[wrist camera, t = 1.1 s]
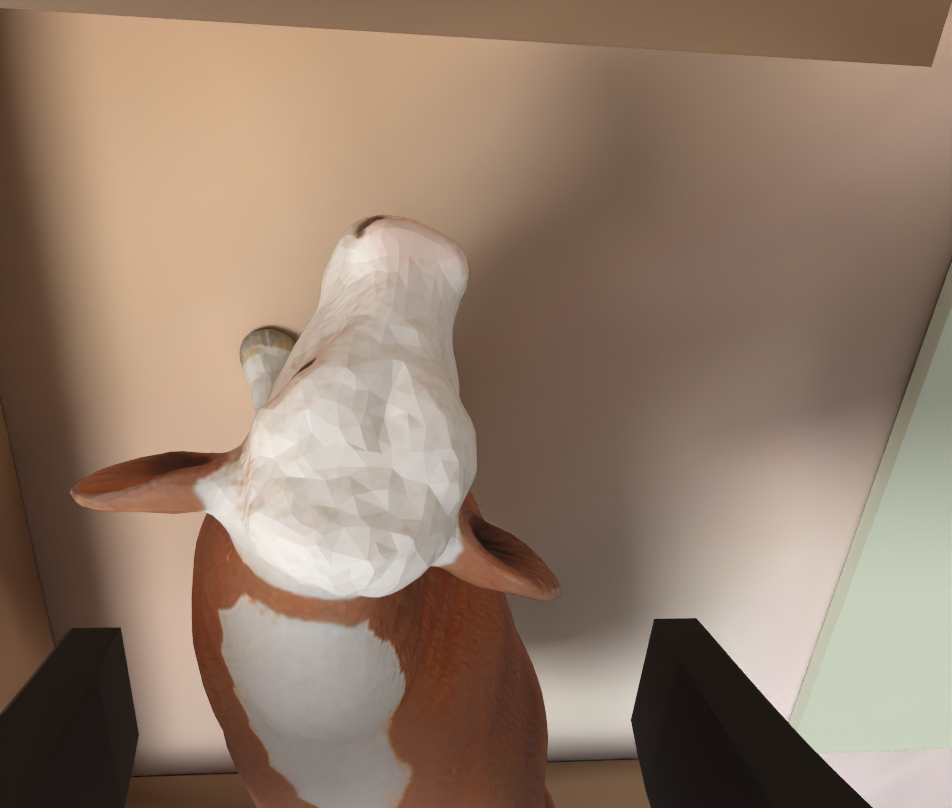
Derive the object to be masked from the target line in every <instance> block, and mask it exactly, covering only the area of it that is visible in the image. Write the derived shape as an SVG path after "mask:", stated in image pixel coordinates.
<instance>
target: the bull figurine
mask: <svg viewBox="0 0 952 808" xmlns="http://www.w3.org/2000/svg"><path fill="white" fill-rule="evenodd" d="M468 277H469V269H468V261H467V256H466V254H465V252H464V251H463V249H462V248H461V246H460V245H459V244H457V243H456V242H455V241H453V240H452V239H450V238H449V237H447V236H445V235H444V234H442V233H440V232H438V231H436V230H434V229H432V228H430V227H428V226H426V225H424V224H422V223H419V222H417V221H415V220H411V219H407V218H404V217H397V216H390V215H377V216H372V217H366V218H364V219H361V220H359V221H357V222H356V223H354V224H353V225H351V226H350V227H349V228H348V229H347V230H346V231H345V232H344V234H343V235H342V236H341V238H340V239H339V241H338V242H337V244H336V246H335V248H334V250H333V253H332V255H331V257H330V259H329V261H328V264H327V266H326V269H325V271H324V274H323V277H322V285H321V294H320V303H319V305H318V308H317V310H316V312H315V314H314V315H313V317H312V318H311V320H310V322H309V323H308V325H307V326H306V328H305V329H304V331H303V333H302V334H301V336H300V337H299V339H298V341H297V342H296V343H295V342H294V341H293V340H292V339H291V338H290V337H289V336H288V335H286V334H284V333H282V332H279V331H276V330H272V329H263V330H258V331H254V332H252V333H250V334H249V335H248V336H247V337H245V338H244V340H243V342H242V345H241V348H240V361H241V364H242V367H243V371H244V373H245V376H246V379H247V381H248V383H249V385H250V387H251V394H252V400H253V404H254V407H255V409H256V415H255V417H254V419H253V423H252V426H251V430H250V432H249V433H248V435H247V437H246V439H245V440H244V441H243V443H242V444H241V446H239V447H237V448H236V449H234V450H232V451H229V452H226V453H196V452H185V451H180V452H168V453H163V454H158V455H152V456H147V457H141V458H138V459H134V460H130V461H127V462H123V463H120V464H116V465H113V466H110V467H107V468H104V469H102V470H99V471H97V472H95V473H93V474H91V475H89V476H88V477H86V478H84V479H82V480H80V481H79V482H78V483H76V484H75V485H74V486H73V487H72V488H71V490H70V494H71V496H72V497H73V498H74V500H75V501H76V502H77V503H78V504H79V505H81V506H83V507H87V508H91V509H95V510H99V511H106V512H152V513H170V514H177V513H188V512H198V511H199V512H205V513H207V514H206V517H205V519H204V521H203V524H202V526H201V529H200V532H199V536H198V539H197V542H196V549H195V556H194V568H193V585H192V634H193V645H194V649H195V654H196V658H197V662H198V666H199V670H200V674H201V678H202V682H203V686H204V688H205V691H206V694H207V696H208V699H209V702H210V704H211V707H212V710H213V712H214V714H215V716H216V718H217V720H218V722H219V724H220V726H221V728H222V730H223V732H224V736H225V740H226V744H227V748H228V750H229V752H230V755H231V757H232V760H233V762H234V764H235V767H236V769H237V772H238V774H239V775H240V777H241V779H242V781H243V783H244V785H245V787H246V788H247V790H248V792H249V794H250V796H251V798H252V800H253V801H254V803H255V805H256V807H257V808H555V804H554V801H553V799H552V797H551V795H550V793H549V791H548V789H547V787H546V785H545V775H546V765H547V748H548V732H547V720H546V712H545V706H544V701H543V696H542V691H541V688H540V685H539V682H538V678H537V675H536V673H535V670H534V667H533V664H532V662H531V660H530V657H529V655H528V653H527V651H526V649H525V647H524V645H523V643H522V641H521V639H520V637H519V635H518V633H517V631H516V628H515V624H514V621H513V617H512V613H511V610H510V607H509V605H508V602H507V600H506V597H505V594H504V592H505V593H511V594H516V595H521V596H524V597H528V598H531V599H534V600H538V601H543V602H547V601H552V600H554V599H556V598H558V597H560V593H561V589H560V585H559V583H558V581H557V579H556V577H555V575H554V574H553V573H552V572H551V570H550V569H549V568H548V567H547V566H546V564H545V563H544V562H543V561H542V560H541V559H540V558H539V557H538V556H537V555H536V554H535V553H534V552H533V551H532V550H531V549H530V548H529V547H528V546H527V545H526V544H524V543H523V542H521V541H520V540H519V539H517V538H516V537H515V536H513V535H512V534H510V533H508V532H506V531H504V530H502V529H500V528H497V527H495V526H493V525H491V524H489V523H487V522H486V521H485V520H484V519H483V518H482V516H481V513H480V511H479V508H478V505H477V503H476V501H475V499H474V497H473V495H472V493H471V492H470V490H469V489H470V487H471V485H472V483H473V481H474V479H475V476H476V473H477V446H476V432H475V428H474V425H473V423H472V420H471V418H470V417H469V415H468V413H467V412H466V410H465V408H464V407H463V404H462V402H461V399H460V397H459V394H460V389H459V379H458V372H457V367H456V362H455V357H454V351H453V336H452V333H453V326H454V321H455V318H456V314H457V311H458V307H459V304H460V301H461V298H462V296H463V294H464V293H465V291H466V288H467V282H468Z"/></svg>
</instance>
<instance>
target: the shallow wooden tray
mask: <svg viewBox="0 0 952 808" xmlns="http://www.w3.org/2000/svg"><path fill="white" fill-rule="evenodd" d="M951 1H952V0H0V8H9V9H25V10H41V11H57V12H72V13H88V14H104V15H120V16H136V17H151V18H167V19H183V20H199V21H215V22H230V23H246V24H262V25H278V26H294V27H310V28H325V29H341V30H357V31H373V32H389V33H404V34H420V35H436V36H452V37H468V38H484V39H499V40H515V41H531V42H547V43H563V44H578V45H594V46H610V47H626V48H642V49H657V50H673V51H689V52H705V53H721V54H737V55H752V56H768V57H784V58H800V59H816V60H831V61H847V62H863V63H879V64H895V65H911V66H926V67H931V66H932V63H933V60H934V57H935V53H936V50H937V47H938V44H939V40H940V37H941V34H942V31H943V27H944V24H945V21H946V18H947V14H948V11H949V8H950V5H951ZM53 649H54V643H53V638H52V634H51V629H50V625H49V620H48V616H47V611H46V606H45V602H44V597H43V593H42V588H41V584H40V579H39V575H38V570H37V565H36V561H35V556H34V552H33V547H32V543H31V538H30V534H29V529H28V524H27V520H26V515H25V511H24V506H23V502H22V497H21V493H20V488H19V483H18V479H17V474H16V470H15V465H14V461H13V456H12V452H11V447H10V442H9V438H8V433H7V429H6V424H5V420H4V415H3V410H2V406H1V401H0V713H1V712H2V711H3V710H4V708H5V707H6V706H7V705H8V704H9V703H10V701H11V700H12V699H13V698H14V697H15V695H16V694H17V693H18V692H19V691H20V689H21V688H22V687H23V686H24V684H25V683H26V682H27V681H28V680H29V678H30V677H31V676H32V675H33V673H34V672H35V671H36V670H37V669H38V667H39V666H40V665H41V664H42V662H43V661H44V660H45V659H46V657H47V656H48V655H49V654H50V652H51V651H52V650H53ZM545 785H546V787H547V789H548V791H549V793H550V795H551V797H552V799H553V801H554V804H555V808H651V807H650V803H649V800H648V797H647V794H646V791H645V786H644V781H643V777H642V772H641V768H640V763H639V759H635V760H607V761H578V762H550V763H547V765H546V775H545ZM125 808H257V807H256V805H255V803H254V801H253V800H252V798H251V796H250V794H249V792H248V790H247V788H246V787H245V785H244V783H243V781H242V779H241V777H240V775H239V774H211V775H183V776H155V777H131V779H130V784H129V789H128V794H127V798H126V803H125Z"/></svg>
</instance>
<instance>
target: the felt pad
mask: <svg viewBox="0 0 952 808" xmlns="http://www.w3.org/2000/svg"><path fill="white" fill-rule="evenodd" d="M789 724H790V725H791V726H792V727H793V728H794V729H795V730H796V731H797V732H798V733H799V734H800V736H801V737H802V738H803V739H804V740H805V741H806V742H807V743H808V744H809V745H810V746H811V747H812V748H813V749H814V750H815V752H816V753H842V752H870V751H898V750H926V749H952V262H951V265H950V268H949V271H948V273H947V276H946V279H945V282H944V285H943V288H942V290H941V293H940V296H939V299H938V302H937V305H936V307H935V310H934V313H933V316H932V319H931V322H930V324H929V327H928V330H927V333H926V336H925V338H924V341H923V344H922V347H921V350H920V353H919V355H918V358H917V361H916V364H915V367H914V370H913V372H912V375H911V378H910V381H909V384H908V387H907V389H906V392H905V395H904V398H903V401H902V403H901V406H900V409H899V412H898V415H897V418H896V420H895V423H894V426H893V429H892V432H891V435H890V437H889V440H888V443H887V446H886V449H885V452H884V454H883V457H882V460H881V463H880V466H879V469H878V471H877V474H876V477H875V480H874V483H873V485H872V488H871V491H870V494H869V497H868V500H867V502H866V505H865V508H864V511H863V514H862V517H861V519H860V522H859V525H858V528H857V531H856V534H855V536H854V539H853V542H852V545H851V548H850V550H849V553H848V556H847V559H846V562H845V565H844V567H843V570H842V573H841V576H840V579H839V582H838V584H837V587H836V590H835V593H834V596H833V599H832V601H831V604H830V607H829V610H828V613H827V615H826V618H825V621H824V624H823V627H822V630H821V632H820V635H819V638H818V641H817V644H816V647H815V649H814V652H813V655H812V658H811V661H810V664H809V666H808V669H807V672H806V675H805V678H804V681H803V683H802V686H801V689H800V692H799V695H798V697H797V700H796V703H795V706H794V709H793V712H792V714H791V717H790V720H789Z"/></svg>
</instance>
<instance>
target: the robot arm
mask: <svg viewBox="0 0 952 808" xmlns="http://www.w3.org/2000/svg"><path fill="white" fill-rule="evenodd" d="M631 722H632V727H633V733H634V738H635V743H636V748H637V753H638V758H639V763H640V768H641V772H642V777H643V781H644V786H645V791H646V794H647V797H648V800H649V803H650V807H651V808H872V807H871V806H870V805H869V804H868V803H867V802H866V801H865V800H864V799H863V798H862V797H861V796H860V795H859V794H858V793H857V792H856V791H855V790H854V789H853V788H852V787H851V786H850V785H848V784H847V783H846V782H845V781H844V780H843V779H842V778H841V777H840V776H839V775H838V774H837V773H836V772H835V771H834V770H833V769H832V768H831V767H830V766H829V765H828V764H827V763H826V762H825V761H824V760H823V759H822V758H821V757H820V756H819V755H818V754H817V753H816V752H815V750H814V749H813V748H812V747H811V746H810V745H809V744H808V743H807V742H806V741H805V740H804V739H803V738H802V737H801V736H800V734H799V733H798V732H797V731H796V730H795V729H794V728H793V727H792V726H791V725H790V724H789V723H788V722H787V721H786V720H785V718H784V717H783V716H782V715H781V714H780V713H779V712H778V711H777V710H776V709H775V708H774V706H773V705H772V704H771V703H770V702H769V701H768V700H767V699H766V698H765V696H764V695H763V694H762V693H761V692H760V691H759V690H758V689H757V687H756V686H755V685H754V684H753V683H752V682H751V681H750V679H749V678H748V677H747V676H746V675H745V674H744V673H743V671H742V670H741V669H740V668H739V667H738V666H737V665H736V663H735V662H734V661H733V660H732V659H731V658H730V656H729V655H728V654H727V653H726V652H725V651H724V649H723V648H722V647H721V646H720V645H719V644H718V643H717V641H716V640H715V639H714V638H713V637H712V636H711V634H710V633H709V632H708V631H707V630H706V629H705V628H704V626H703V625H702V624H701V623H700V622H699V621H698V620H697V619H696V618H689V619H654V622H653V627H652V631H651V635H650V640H649V644H648V648H647V653H646V657H645V661H644V666H643V670H642V675H641V679H640V683H639V688H638V692H637V696H636V701H635V705H634V709H633V714H632V718H631ZM138 736H139V733H138V728H137V722H136V716H135V710H134V704H133V698H132V692H131V686H130V680H129V674H128V668H127V663H126V657H125V651H124V645H123V639H122V633H121V628H72V629H71V630H70V631H68V632H67V633H66V634H65V635H64V636H63V637H62V639H61V640H60V641H59V642H58V644H57V645H56V646H55V647H54V649H53V650H52V651H51V652H50V654H49V655H48V656H47V657H46V659H45V660H44V661H43V662H42V664H41V665H40V666H39V667H38V669H37V670H36V671H35V672H34V673H33V675H32V676H31V677H30V678H29V680H28V681H27V682H26V683H25V684H24V686H23V687H22V688H21V689H20V691H19V692H18V693H17V694H16V695H15V697H14V698H13V699H12V700H11V701H10V703H9V704H8V705H7V706H6V707H5V708H4V710H3V711H2V712H1V713H0V808H125V803H126V798H127V794H128V789H129V784H130V779H131V774H132V768H133V763H134V757H135V752H136V747H137V741H138Z"/></svg>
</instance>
